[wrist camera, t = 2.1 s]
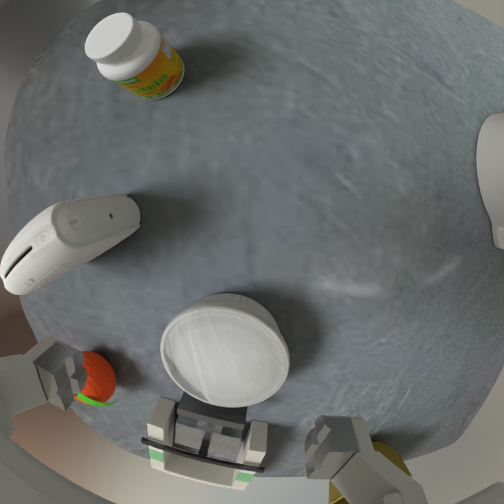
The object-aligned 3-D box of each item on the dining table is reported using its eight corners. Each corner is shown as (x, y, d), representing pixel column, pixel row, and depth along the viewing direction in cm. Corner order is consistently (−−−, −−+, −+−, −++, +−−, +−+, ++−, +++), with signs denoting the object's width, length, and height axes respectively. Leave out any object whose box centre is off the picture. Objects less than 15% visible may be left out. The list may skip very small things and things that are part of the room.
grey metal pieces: (282, 400, 28) (283, 438, 22) (261, 446, 31) (258, 479, 25) (156, 369, 28) (137, 402, 22) (156, 420, 31) (142, 450, 25)
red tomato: (134, 360, 29) (107, 397, 22) (130, 394, 30) (108, 429, 23) (82, 332, 28) (50, 361, 22) (82, 368, 30) (56, 397, 23)
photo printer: (130, 186, 24) (35, 196, 12) (149, 225, 24) (62, 262, 12) (67, 233, 25) (-17, 264, 13) (82, 267, 26) (4, 311, 14)
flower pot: (397, 434, 30) (414, 476, 21) (365, 463, 32) (374, 503, 23) (354, 430, 29) (366, 480, 21) (322, 460, 32) (327, 505, 23)
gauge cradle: (267, 422, 29) (266, 453, 24) (246, 466, 33) (243, 491, 28) (160, 396, 30) (146, 424, 25) (160, 445, 33) (151, 468, 28)
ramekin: (157, 321, 27) (136, 347, 22) (237, 258, 25) (227, 278, 19) (226, 389, 29) (219, 421, 23) (308, 342, 26) (314, 374, 21)
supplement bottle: (139, 109, 22) (78, 82, 12) (131, 67, 20) (76, 30, 11) (191, 87, 21) (147, 42, 11) (180, 45, 20) (139, -7, 10)
